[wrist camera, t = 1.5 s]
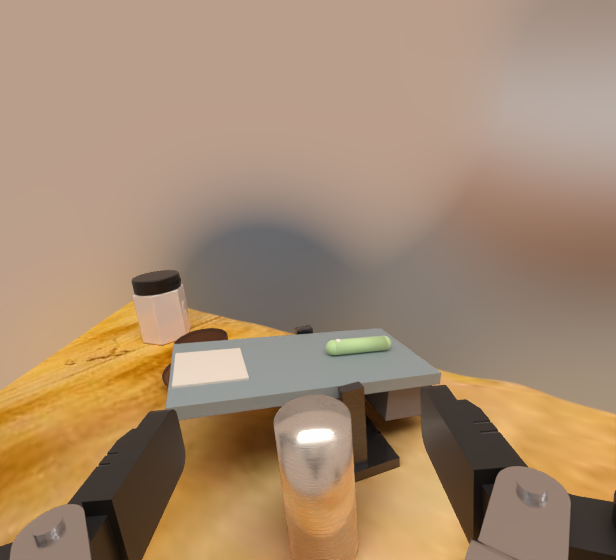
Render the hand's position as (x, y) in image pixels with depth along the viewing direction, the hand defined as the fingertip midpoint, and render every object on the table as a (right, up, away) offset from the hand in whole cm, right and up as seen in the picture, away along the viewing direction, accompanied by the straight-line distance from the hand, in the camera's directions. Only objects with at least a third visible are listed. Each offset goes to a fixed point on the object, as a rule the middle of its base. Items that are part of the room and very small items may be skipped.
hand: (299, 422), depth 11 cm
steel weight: (+1, -15, +15) cm, 22 cm away
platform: (-1, -8, +26) cm, 27 cm away
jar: (-27, -6, +56) cm, 62 cm away
